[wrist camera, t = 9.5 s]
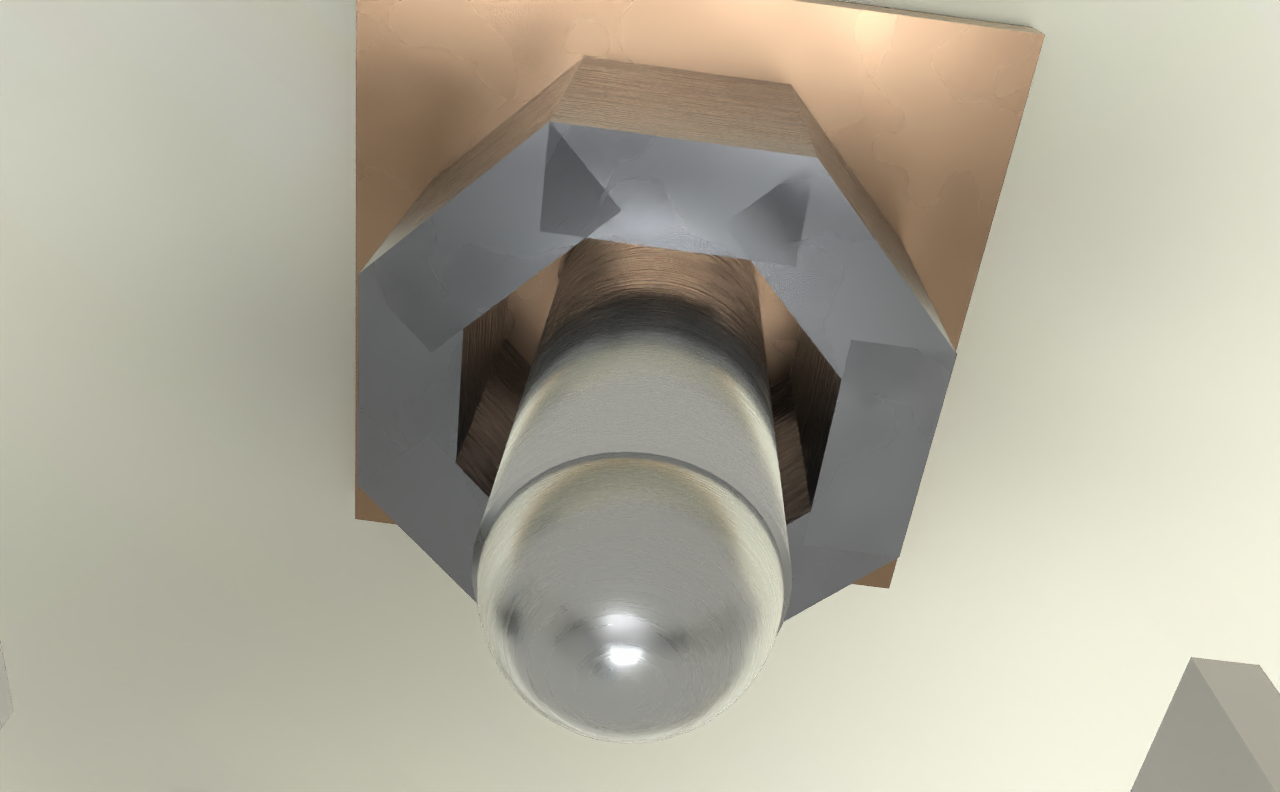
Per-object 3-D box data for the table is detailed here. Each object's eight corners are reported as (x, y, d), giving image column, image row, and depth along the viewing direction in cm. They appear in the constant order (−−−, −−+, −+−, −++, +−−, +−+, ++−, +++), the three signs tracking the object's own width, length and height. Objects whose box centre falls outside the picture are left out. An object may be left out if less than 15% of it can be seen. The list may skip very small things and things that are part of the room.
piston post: (365, 499, 25) (125, 970, 15) (369, -63, 20) (-11, 55, 9) (883, 567, 25) (1010, 1082, 15) (1032, 27, 20) (1402, 244, 9)
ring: (421, 465, 24) (356, 612, 19) (437, 35, 20) (359, 95, 15) (834, 520, 24) (864, 678, 19) (937, 104, 20) (1006, 183, 15)
